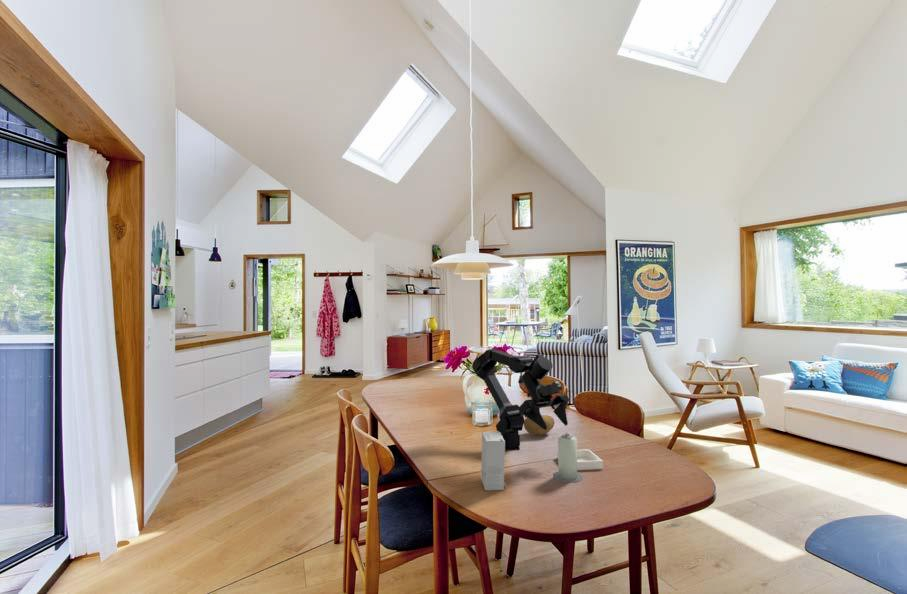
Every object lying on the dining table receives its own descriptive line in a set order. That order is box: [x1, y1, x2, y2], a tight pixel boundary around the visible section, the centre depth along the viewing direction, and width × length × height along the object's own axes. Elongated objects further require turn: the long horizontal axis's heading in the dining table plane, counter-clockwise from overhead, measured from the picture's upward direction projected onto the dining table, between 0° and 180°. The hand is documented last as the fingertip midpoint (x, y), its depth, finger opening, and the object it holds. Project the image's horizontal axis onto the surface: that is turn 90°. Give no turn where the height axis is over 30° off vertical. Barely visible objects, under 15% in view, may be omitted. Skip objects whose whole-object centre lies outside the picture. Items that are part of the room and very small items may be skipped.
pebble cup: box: [557, 432, 578, 480], centre depth 138 cm, size 6×6×14 cm
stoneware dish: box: [556, 448, 604, 471], centre depth 149 cm, size 11×11×3 cm
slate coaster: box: [552, 471, 584, 484], centre depth 138 cm, size 9×9×1 cm
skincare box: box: [480, 431, 506, 491], centre depth 133 cm, size 8×6×15 cm
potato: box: [523, 414, 555, 437], centre depth 183 cm, size 10×14×8 cm
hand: (556, 427), depth 146 cm, fingers open, 9 cm apart
